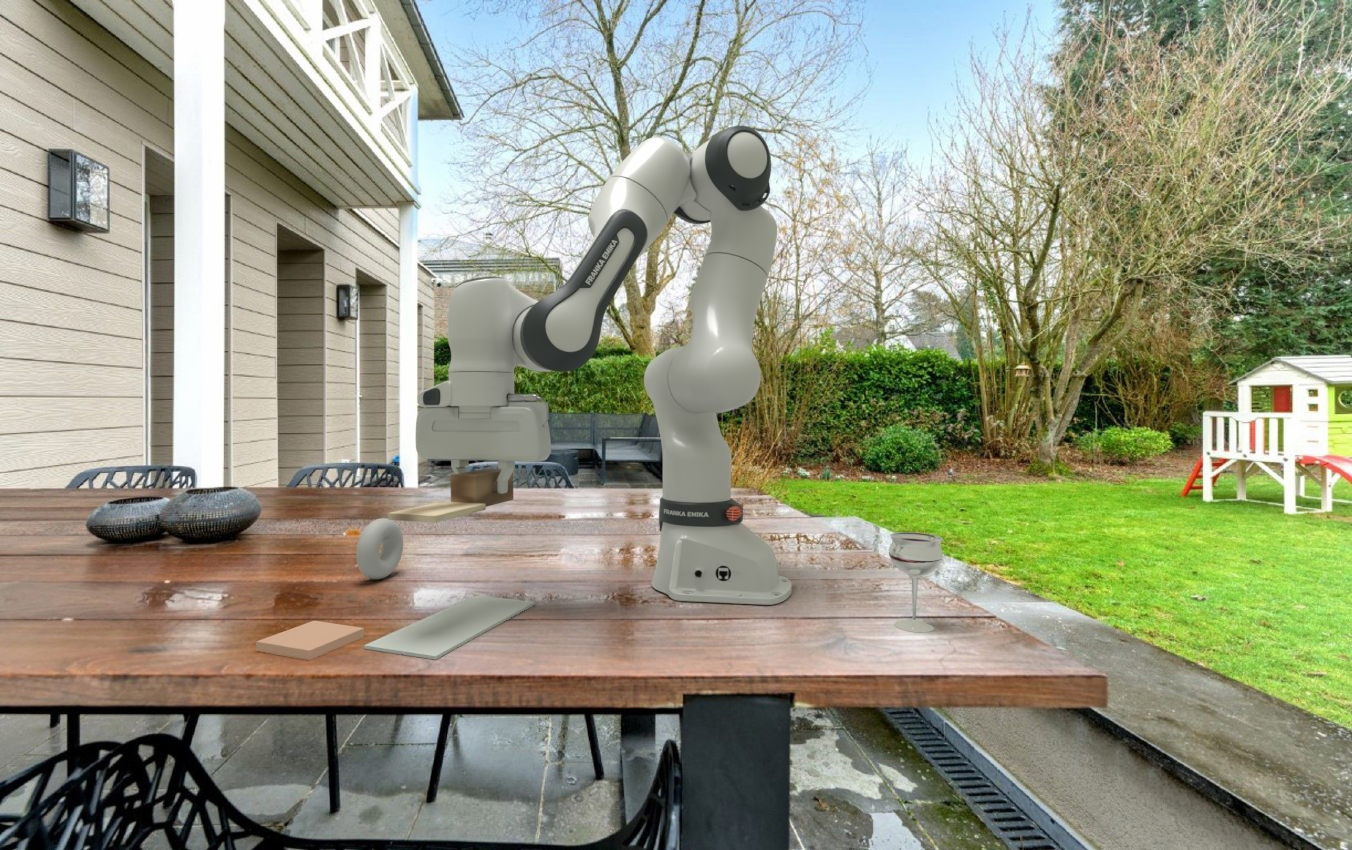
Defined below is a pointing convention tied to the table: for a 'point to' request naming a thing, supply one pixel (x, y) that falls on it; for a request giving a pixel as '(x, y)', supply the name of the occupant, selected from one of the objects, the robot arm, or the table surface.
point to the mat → (450, 627)
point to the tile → (310, 640)
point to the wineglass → (915, 566)
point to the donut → (370, 545)
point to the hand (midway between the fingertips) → (483, 492)
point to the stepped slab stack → (460, 498)
